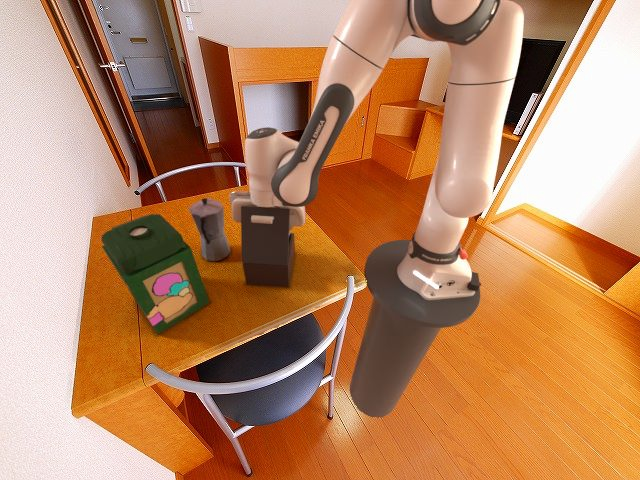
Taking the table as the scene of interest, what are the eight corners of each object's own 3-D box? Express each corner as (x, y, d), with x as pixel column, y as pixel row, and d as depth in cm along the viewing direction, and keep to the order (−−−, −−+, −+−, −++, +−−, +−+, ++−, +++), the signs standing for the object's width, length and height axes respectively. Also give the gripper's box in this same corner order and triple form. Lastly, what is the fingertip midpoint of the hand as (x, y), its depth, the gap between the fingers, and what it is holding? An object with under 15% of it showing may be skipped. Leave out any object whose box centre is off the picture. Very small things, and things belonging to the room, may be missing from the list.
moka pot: (232, 237, 97) (221, 186, 84) (232, 267, 86) (220, 215, 73) (203, 240, 95) (188, 189, 82) (200, 272, 84) (181, 219, 71)
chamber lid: (241, 205, 72) (235, 208, 66) (289, 208, 71) (287, 211, 66) (242, 261, 75) (236, 268, 70) (288, 264, 75) (285, 271, 70)
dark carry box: (257, 251, 92) (254, 230, 86) (294, 253, 92) (294, 233, 86) (246, 284, 81) (242, 263, 75) (288, 287, 81) (287, 266, 75)
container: (185, 271, 84) (157, 201, 68) (216, 305, 75) (193, 233, 59) (133, 298, 75) (88, 225, 59) (161, 340, 66) (117, 268, 50)
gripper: (224, 196, 70) (232, 238, 79) (304, 201, 69) (304, 243, 78) (231, 184, 75) (238, 225, 83) (306, 189, 74) (306, 229, 83)
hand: (271, 234), depth 81 cm, fingers open, 8 cm apart
